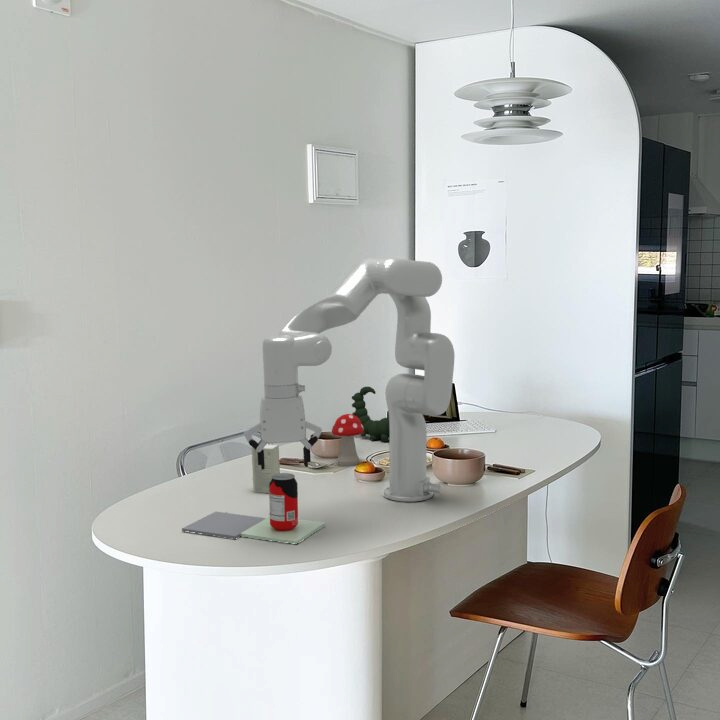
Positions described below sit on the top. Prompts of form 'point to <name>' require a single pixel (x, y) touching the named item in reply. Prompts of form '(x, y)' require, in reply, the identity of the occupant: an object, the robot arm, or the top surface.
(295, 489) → the beverage can
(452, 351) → the robot arm
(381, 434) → the toy figurine
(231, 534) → the grey pad
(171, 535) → the top surface
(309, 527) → the green pad
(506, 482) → the top surface
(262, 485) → the skincare box
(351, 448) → the decorative mushroom
